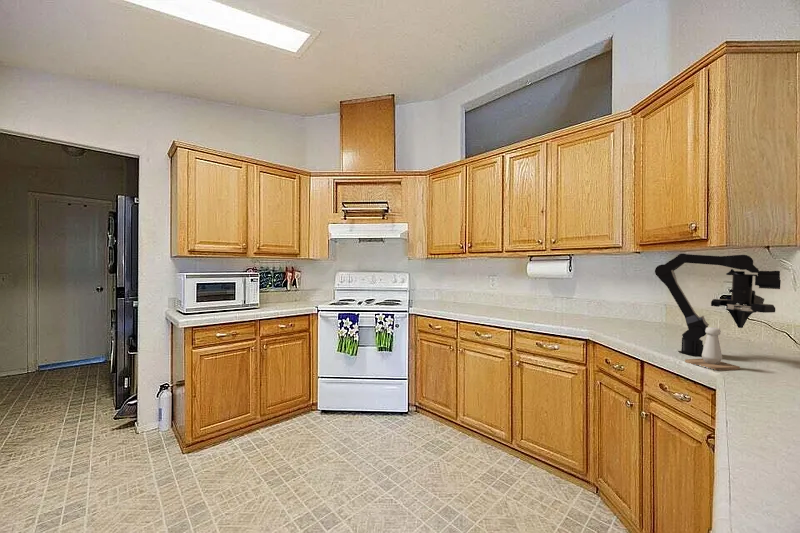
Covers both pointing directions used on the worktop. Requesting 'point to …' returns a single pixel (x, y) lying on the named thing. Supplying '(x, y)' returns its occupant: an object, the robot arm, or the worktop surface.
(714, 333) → the salt shaker
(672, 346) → the worktop surface
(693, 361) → the board
